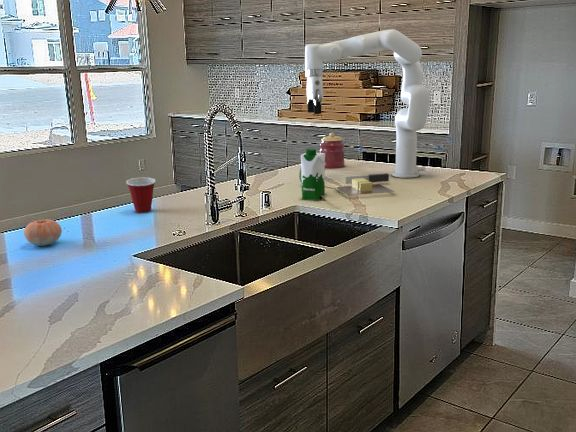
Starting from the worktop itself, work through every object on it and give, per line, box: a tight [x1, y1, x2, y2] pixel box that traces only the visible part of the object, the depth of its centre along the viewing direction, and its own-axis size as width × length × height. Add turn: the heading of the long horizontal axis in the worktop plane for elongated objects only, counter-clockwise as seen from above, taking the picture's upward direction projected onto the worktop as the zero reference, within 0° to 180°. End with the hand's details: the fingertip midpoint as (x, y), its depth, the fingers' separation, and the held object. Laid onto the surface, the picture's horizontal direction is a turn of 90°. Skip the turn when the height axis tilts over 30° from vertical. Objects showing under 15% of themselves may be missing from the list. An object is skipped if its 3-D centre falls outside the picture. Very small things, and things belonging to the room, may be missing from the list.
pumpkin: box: [23, 218, 63, 247], centre depth 183 cm, size 11×11×8 cm
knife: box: [344, 172, 390, 185], centre depth 259 cm, size 20×2×4 cm, turn 105°
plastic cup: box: [125, 176, 157, 214], centre depth 221 cm, size 11×11×12 cm
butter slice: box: [359, 182, 373, 192], centre depth 241 cm, size 5×2×4 cm, turn 105°
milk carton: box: [300, 148, 326, 201], centre depth 235 cm, size 9×9×20 cm
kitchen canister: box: [319, 131, 346, 169], centre depth 306 cm, size 13×13×18 cm
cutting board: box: [335, 183, 396, 196], centre depth 245 cm, size 20×16×2 cm
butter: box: [351, 178, 369, 190], centre depth 247 cm, size 5×7×4 cm
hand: (314, 113), depth 260 cm, fingers open, 9 cm apart
